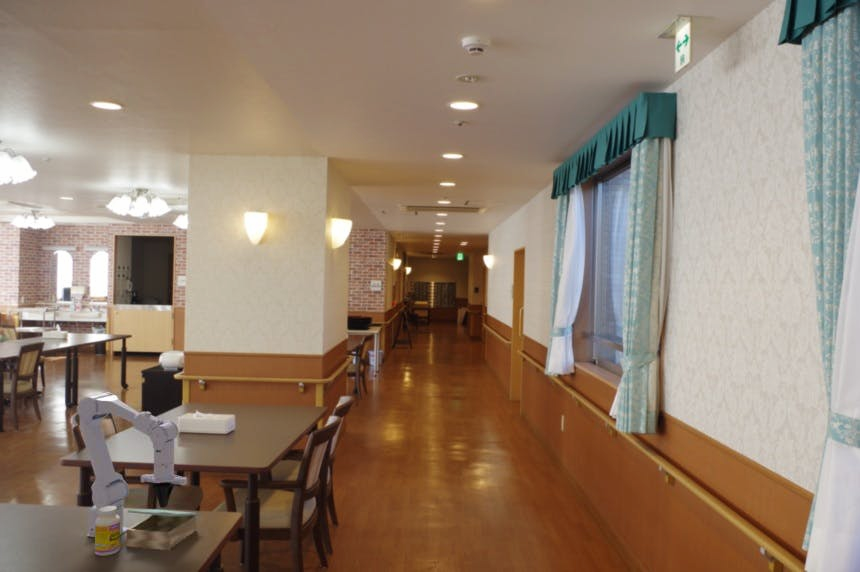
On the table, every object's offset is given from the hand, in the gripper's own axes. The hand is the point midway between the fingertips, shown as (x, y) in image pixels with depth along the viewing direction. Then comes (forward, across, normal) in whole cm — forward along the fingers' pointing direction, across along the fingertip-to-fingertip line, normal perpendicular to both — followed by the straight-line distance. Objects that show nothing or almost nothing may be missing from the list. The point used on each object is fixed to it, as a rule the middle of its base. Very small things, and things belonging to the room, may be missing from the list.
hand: (163, 506), depth 197 cm
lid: (+3, -1, +1) cm, 3 cm away
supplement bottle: (+11, -11, -11) cm, 19 cm away
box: (+10, -1, +1) cm, 10 cm away
